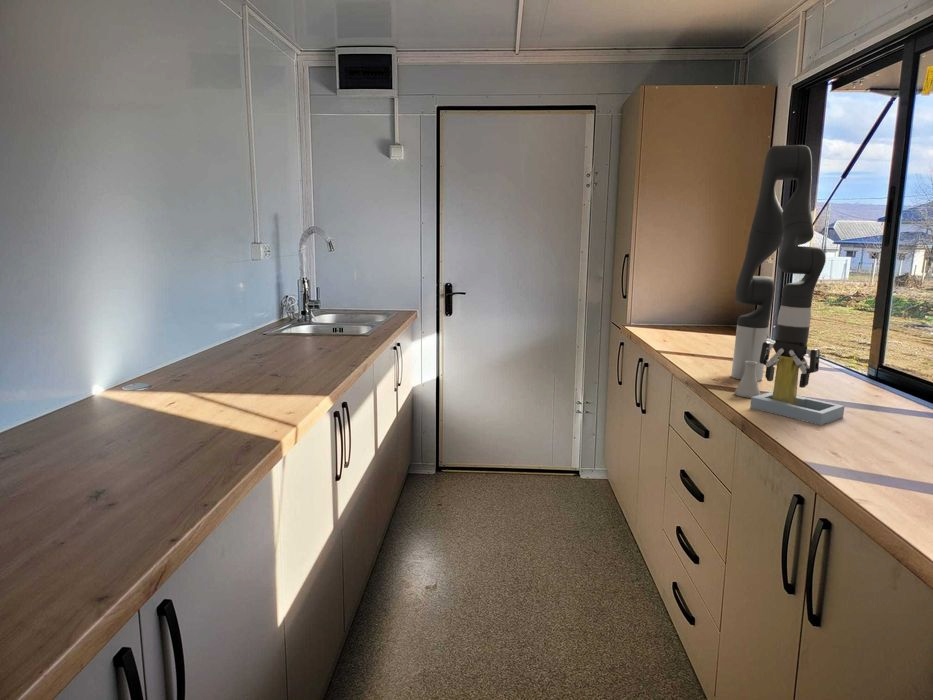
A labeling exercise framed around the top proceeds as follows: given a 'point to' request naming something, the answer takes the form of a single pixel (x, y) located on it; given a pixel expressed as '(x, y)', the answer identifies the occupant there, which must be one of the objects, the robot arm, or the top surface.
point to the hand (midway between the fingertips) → (785, 383)
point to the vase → (786, 380)
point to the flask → (748, 382)
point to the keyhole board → (799, 408)
